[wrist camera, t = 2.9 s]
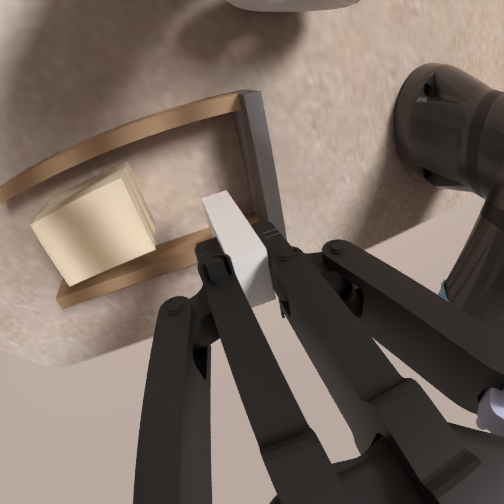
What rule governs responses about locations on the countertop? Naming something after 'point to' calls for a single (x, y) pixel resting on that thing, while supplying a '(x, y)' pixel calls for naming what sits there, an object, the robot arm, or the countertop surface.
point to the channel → (239, 102)
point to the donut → (290, 5)
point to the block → (96, 225)
